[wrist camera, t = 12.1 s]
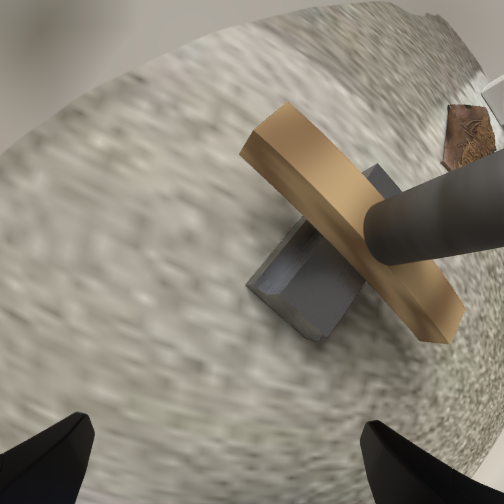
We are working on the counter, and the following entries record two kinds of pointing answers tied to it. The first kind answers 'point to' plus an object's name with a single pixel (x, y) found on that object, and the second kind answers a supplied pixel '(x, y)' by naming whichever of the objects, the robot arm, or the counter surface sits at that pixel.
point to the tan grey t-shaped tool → (386, 217)
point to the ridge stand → (313, 274)
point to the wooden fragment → (467, 136)
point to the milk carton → (495, 97)
